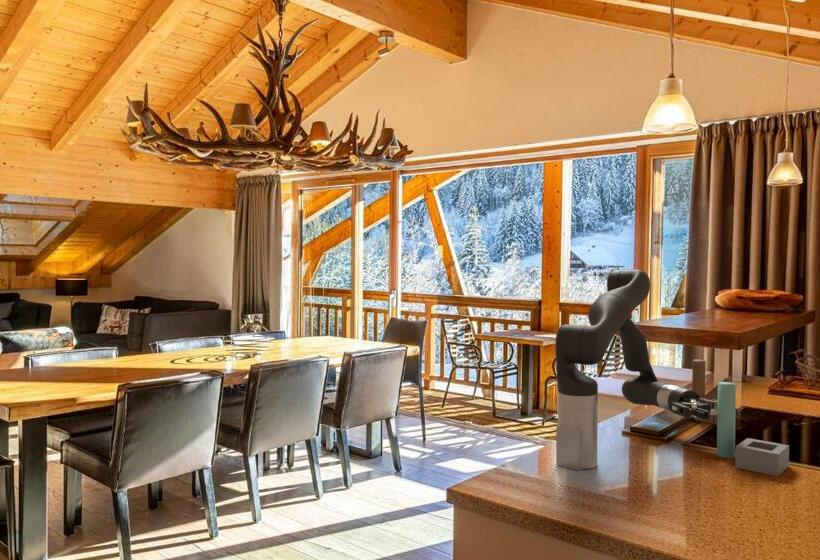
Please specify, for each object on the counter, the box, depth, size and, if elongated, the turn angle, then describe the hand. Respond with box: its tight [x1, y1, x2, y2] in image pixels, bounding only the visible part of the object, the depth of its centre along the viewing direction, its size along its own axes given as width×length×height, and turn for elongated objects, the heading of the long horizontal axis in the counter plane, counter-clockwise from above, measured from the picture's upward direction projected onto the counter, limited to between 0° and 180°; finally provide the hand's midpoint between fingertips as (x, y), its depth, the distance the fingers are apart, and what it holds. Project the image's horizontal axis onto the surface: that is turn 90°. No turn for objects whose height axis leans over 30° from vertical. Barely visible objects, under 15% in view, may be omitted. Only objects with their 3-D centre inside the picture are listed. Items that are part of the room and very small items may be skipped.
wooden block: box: [691, 359, 732, 426], centre depth 192 cm, size 4×11×18 cm, turn 42°
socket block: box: [734, 437, 790, 477], centre depth 152 cm, size 9×9×5 cm
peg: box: [716, 381, 737, 459], centre depth 160 cm, size 4×4×18 cm
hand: (722, 414), depth 161 cm, fingers open, 8 cm apart
